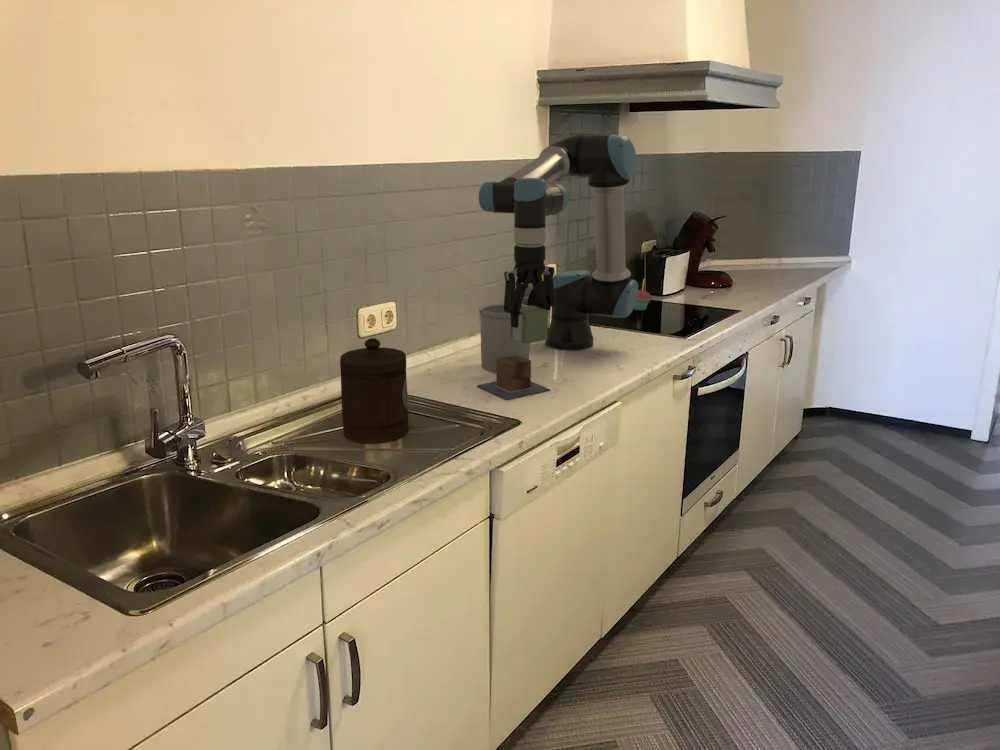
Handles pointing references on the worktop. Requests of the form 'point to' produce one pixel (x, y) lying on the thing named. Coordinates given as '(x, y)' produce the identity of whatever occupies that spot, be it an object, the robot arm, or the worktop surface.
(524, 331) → the olive block
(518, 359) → the walnut block
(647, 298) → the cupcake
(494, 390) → the blue square frame
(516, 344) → the utensil holder
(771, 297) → the worktop surface
